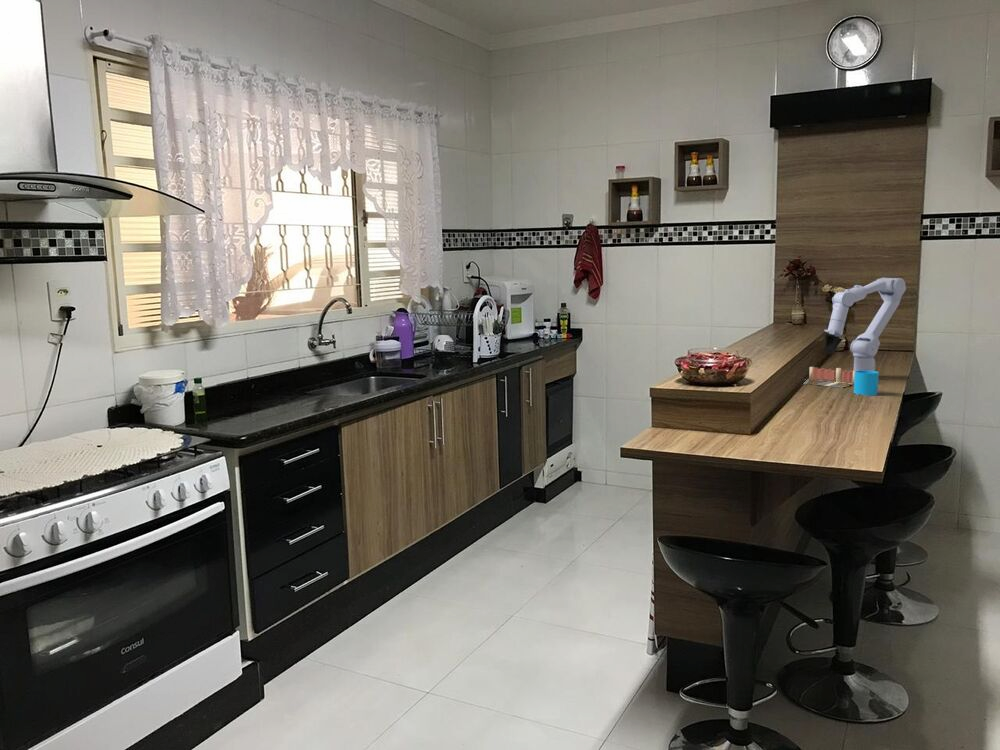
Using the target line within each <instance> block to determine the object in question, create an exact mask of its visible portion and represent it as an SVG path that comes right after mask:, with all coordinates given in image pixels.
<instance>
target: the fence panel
mask: <svg viewBox="0 0 1000 750" xmlns="http://www.w3.org/2000/svg"><path fill="white" fill-rule="evenodd" d="M835 378H836V369H832V368H828V369H827V368H825V367H821V368H819V367H815V366H809V375H808V379H811V380H813V379H815V380H817V379H821V380H824V379H825V380H828V381H831V380H835Z"/></svg>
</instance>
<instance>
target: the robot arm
mask: <svg viewBox="0 0 1000 750" xmlns="http://www.w3.org/2000/svg"><path fill="white" fill-rule="evenodd" d="M906 290H907V286H906V281H905V280H904V279H903V278H901V277H897V278H896V277H894V278H893V277H892V278H891V277H880V278H877V279H876V280H874V281H872V282H870V283H868V284H866V285H864V286H863V285H858V284H856V285H853V287H851V288H846V289H845V290H844V291H838V292H836V293H835V294H834V295H833V296H832V298H831V301H832V311H831V316H830V320H829V324H828V328H827V329H824V332H825V333H824V340H825V349H824V350H825V353H827V355H831V356H833V355H835V353H836V350H837V348H838V346H839V345H840V343H842V341H843V338H840V336H843V334H844V333H843V331H844V328H845V324H846V321H847V316H848V312H849V308H850V307H852V306H853V305H854V303H856V302H858V301H861V300H864V299H865V298H866V297H867V295H868V294H872V293H874V292H878V293H879V297H880V298H881V299H882V301H883V303H882V305H881V306H880V308H879V309H878V311H877V313H876V314H875V315H874V317H873V318H872V320H871V322H870V324H869V325H868V327H867V328H866V329H865V332H864V333H863V332H862V333H861V334H859V335H858V336H857V337H856V339H854V340H852V342H851V344H850V347H849V351H850V353H851V354H852V356H853V370H852V371H859V370H867V371H876V359H875V356H876V354H877V353H878V351H879V347H880V346H881V342H880V340H879V337H880V336H881V334H882V332H883V331H884V329H885V328H886V326H887V324H888V323H889V321H890V319H891V318H892V317H893V315H894V313H895V311H896V310H897V309H898V307H899V305H900V303H901V299H902V296H903V295H904V294H905V292H906Z"/></svg>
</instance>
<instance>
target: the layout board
mask: <svg viewBox="0 0 1000 750" xmlns="http://www.w3.org/2000/svg"><path fill="white" fill-rule="evenodd" d="M805 380H806V379H805ZM808 381H809V378H807V380H806V381H805V382H804V383H803V384H802V385H806V384H807V383H808ZM818 381H826V380H818ZM833 382H834V383H833ZM838 383H845V382H835V381H827V382H822V383H818V385H823V386H822V387H826V386H832V387H831V388H836V387H841V386H840V385H838V386H837V384H838ZM848 384H852V383H848ZM843 387H846V386H843ZM843 387H842V388H841V389H844V388H843ZM846 388H847V387H846Z"/></svg>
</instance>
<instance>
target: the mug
mask: <svg viewBox="0 0 1000 750" xmlns="http://www.w3.org/2000/svg"><path fill="white" fill-rule="evenodd" d="M879 372H880V371H876V370H875V371H867V370H859V371H855V378H854V385H853V394H854V393H856V394H855V395H858V394H861V395H860V396H877V395H878V394H879V393H878V392H879V376H880V375H879V374H880V373H879ZM876 394H877V395H876Z"/></svg>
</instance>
